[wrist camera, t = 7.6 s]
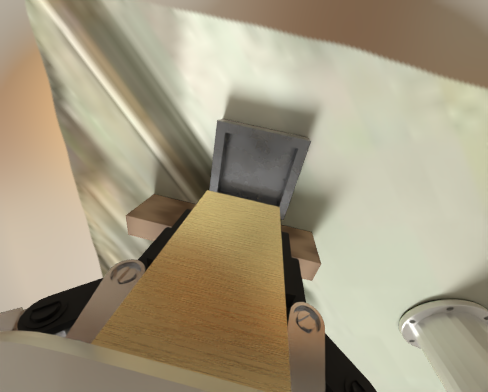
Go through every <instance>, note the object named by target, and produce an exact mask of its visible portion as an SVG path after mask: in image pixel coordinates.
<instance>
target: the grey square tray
mask: <svg viewBox="0 0 488 392" xmlns="http://www.w3.org/2000/svg"><path fill="white" fill-rule="evenodd" d="M310 143H311V141H310V140H309V139H308V138H307V137H304V136H299V135H295V134H290V133H286V132H281V131H276V130H272V129H267V128H263V127H258V126H254V125H249V124H245V123H240V122H235V121H231V120H226V119H221V120H217V128H216V136H215V145H214V154H213V163H212V172H211V181H210V190H209V191H213V192H218V193H222V194H226V195H230V196H235V197H239V198H243V199H247V200H252V201H256V202H260V203H264V204H269V205H273V206H277V207H280V219H283V220H284V217H285V214H286V211H287V208H288V206H289V203H290V200H291V197H292V194H293V191H294V188H295V186H296V183H297V180H298V177H299V174H300V171H301V168H302V165H303V163H304V160H305V157H306V154H307V151H308V148H309V145H310Z"/></svg>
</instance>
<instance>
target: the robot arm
mask: <svg viewBox="0 0 488 392" xmlns="http://www.w3.org/2000/svg"><path fill="white" fill-rule="evenodd" d="M191 211H192V210H191V209H186V210H185V211H184V213H183V214H182V215H181V216H180V218H179V219H178V220H177V221H176V222H175V224H174V225H173V226H172V227H166V228H165V229H164V230H163V231H162V233H161V234H160V235H159V236H158V237H157V238H156V240H155V241H154V242H153V243H152V244H151V245H150V246H149V248H148V249H147V250H146V251H145V252H144V253H143V255H142V256H141V257H140V258H139V259H138V260H134V259H131V260H125V261H121V262H119V263H117V264H115V265H114V266H113V267H111V269H110V270H109V271H108V272H107V274H106V275H105V277H104V278H101V279H98V280H96V281H93V282H90V283H87V284H84V285H81V286H78V287H75V288H72V289H69V290H66V291H63V292H60V293H57V294H54V295H51V296H48V297H46V298H43V299H41V300H39V301H38V302H36V303H34V304H33V305H31V306H30V307H29V308H28V309H25V310H23V308H22V307H21V308H17V309H13V310H9V311H6V312H1V313H0V392H265V391H262V390H258V389H254V388H251V387H247V386H244V385H240V384H237V383H233V382H229V381H226V380H222V379H219V378H215V377H211V376H208V375H204V374H200V373H197V372H193V371H190V370H186V369H182V368H179V367H175V366H171V365H168V364H164V363H160V362H157V361H153V360H149V359H146V358H142V357H138V356H134V355H131V354H127V353H123V352H119V351H116V350H112V349H108V348H105V347H101V346H97V345H93V344H91V343H92V341H93V340H94V339H95V338H96V336H97V335H98V334H99V332H100V331H101V330H102V328H103V327H104V326H105V324H106V323H107V322H108V320H109V319H110V318H111V316H112V315H113V314H114V312H115V311H116V310H117V309H118V307H119V306H120V305H121V303H122V302H123V301H124V299H125V298H126V297H127V295H128V294H129V293H130V291H131V290H132V289H133V287H134V286H135V285H136V283H137V282H138V281H139V280H140V278H141V277H142V276H143V274H144V273H145V272H146V270H147V269H148V268H149V266H150V265H151V264H152V262H153V261H154V260H155V258H156V257H157V256H158V254H159V253H160V252H161V251H162V249H163V248H164V247H165V245H166V244H167V243H168V241H169V240H170V239H171V237H172V236H173V235H174V233H175V232H176V231H177V229H178V228H179V227H180V225H181V224H182V223H183V222H184V220H185V219H186V218H187V216H188V215H189V214H190V212H191ZM281 238H282V254H283V269H284V285H285V301H286V317H287V333H288V349H289V365H290V380H291V392H377V391H376V390H375V388H374V387H373V386H372V384H371V383H370V382H369V381H368V380H367V378H366V377H365V376H364V375H363V374H362V373H361V372H360V371H359V370H358V369H357V368H356V366H355V365H354V364H353V363H352V362H351V361H350V360H349V359H348V358H347V357H346V356H345V354H344V353H343V352H342V351H341V350H340V349H339V348H338V347H337V346H336V345H335V343H334V342H333V341H332V340H331V339H330V338H329V337H328V336H327V335H326V334H325V325H324V321H323V319H322V316H321V315H320V313H319V312H318V311H317V310H316V309H315V308H314V307H313V306H311V305H310V304H308V303H306V300H305V294H304V288H303V282H302V276H301V270H300V264H299V260H298V258H294V257H292V256H291V247H290V239H289V233H287V232H282V231H281ZM399 330H400V333H401V334H402V336H403V338H404V339H405V340H406V341H407V342H408V343H409V344H411V345H413V346H415V347H418V348H420V349H422V351H423V353H424V354H425V356H426V358H427V359H428V361H429V363H430V364H431V366H432V368H433V369H434V371H435V373H436V374H437V376H438V378H439V379H440V381H441V383H442V384H443V386H444V388H445V389H446V391H447V392H488V310H487V309H486V308H484V307H483V306H481V305H479V304H477V303H474V302H470V301H466V300H457V299H446V300H437V301H432V302H428V303H424V304H421V305H419V306H417V307H414V308H413V309H411V310H409V311H408V312H407V313H406V314H404V315H403V317H402V318H401V320H400V322H399Z"/></svg>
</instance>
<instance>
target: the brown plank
mask: <svg viewBox="0 0 488 392" xmlns="http://www.w3.org/2000/svg"><path fill="white" fill-rule="evenodd" d="M195 206H196V204H193V203H188V202H184V201H180V200H176V199H172V198H168V197H164V196H159V195H155V194H154V195H152V196H151V197H150V198H148V199H147V200H146V201H144V202H143V203H142V204H140V205H139V206H138V207H136V208H135V209H134V210H132V211H131V212H130V213H128V214H127V215H126V221H127V228H128V235H132V236H136V237H140V238H144V239H148V240H152V241H155V240H156V238H157V237H158V236H159V235H160V234H161V233H162V231H163V230H164V229H165V228H166V227H172V226H173V225H174V224H175V222H176V221H177V220H178V219H179V218H180V216H181V215H182V214H183V213H184V211H185V210H186V209H191V210H193V208H194V207H195ZM281 231H282V232H287V233H289V239H290V247H291V256H292V257H294V258H298V260H299V264H300V270H301V276H302V278H303V279H307V280H311V281H312V280H313V278H314V276H315V274H316V272H317V271H318V269H319V267H320V265H321V262H320V258H319V255H318V252H317V248H316V245H315V241H314V238H313V235H312V232H309V231H305V230H300V229H296V228H292V227H288V226H284V225H281Z"/></svg>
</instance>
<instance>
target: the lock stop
mask: <svg viewBox="0 0 488 392" xmlns="http://www.w3.org/2000/svg"><path fill="white" fill-rule="evenodd" d="M91 344H93V345H97V346H101V347H105V348H108V349H112V350H116V351H119V352H123V353H127V354H131V355H134V356H138V357H142V358H146V359H149V360H153V361H157V362H160V363H164V364H168V365H171V366H175V367H179V368H182V369H186V370H190V371H193V372H197V373H200V374H204V375H208V376H211V377H215V378H219V379H222V380H226V381H229V382H233V383H237V384H240V385H244V386H247V387H251V388H254V389H258V390H262V391H265V392H291V380H290V365H289V349H288V333H287V317H286V301H285V285H284V269H283V254H282V238H281V222H280V207H277V206H273V205H269V204H264V203H260V202H256V201H252V200H247V199H243V198H239V197H235V196H230V195H226V194H222V193H218V192H213V191H209V190H207V191H206V193H205V194H204V195H203V196H202V198H201V199H200V200H199V202H198V203H197V204H196V206H195V207H194V208H193V210H192V211H191V212H190V214H189V215H188V216H187V218H186V219H185V220H184V222H183V223H182V224H181V225H180V227H179V228H178V229H177V231H176V232H175V233H174V235H173V236H172V237H171V239H170V240H169V241H168V243H167V244H166V245H165V247H164V248H163V249H162V251H161V252H160V253H159V254H158V256H157V257H156V258H155V260H154V261H153V262H152V264H151V265H150V266H149V268H148V269H147V270H146V272H145V273H144V274H143V276H142V277H141V278H140V280H139V281H138V282H137V283H136V285H135V286H134V287H133V289H132V290H131V291H130V293H129V294H128V295H127V297H126V298H125V299H124V301H123V302H122V303H121V305H120V306H119V307H118V309H117V310H116V311H115V312H114V314H113V315H112V316H111V318H110V319H109V320H108V322H107V323H106V324H105V326H104V327H103V328H102V330H101V331H100V332H99V334H98V335H97V336H96V338H95V339H94V340H93V341H92V343H91Z"/></svg>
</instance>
